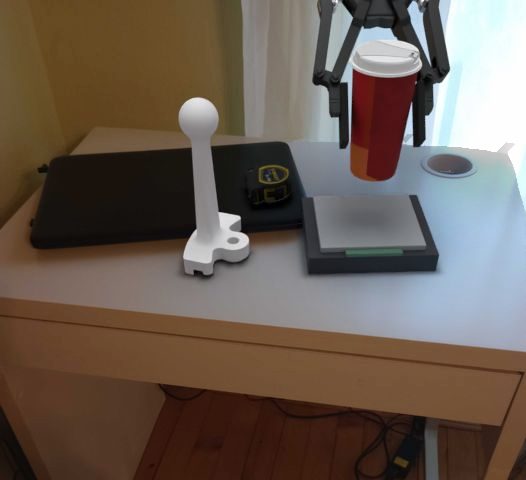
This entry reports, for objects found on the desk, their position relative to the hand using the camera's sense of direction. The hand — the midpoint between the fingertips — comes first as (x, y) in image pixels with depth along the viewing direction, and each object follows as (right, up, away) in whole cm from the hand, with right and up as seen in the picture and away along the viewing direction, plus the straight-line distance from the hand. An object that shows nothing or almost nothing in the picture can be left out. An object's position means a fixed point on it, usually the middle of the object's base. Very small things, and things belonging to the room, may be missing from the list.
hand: (381, 144), depth 71 cm
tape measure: (-13, -1, +21) cm, 25 cm away
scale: (0, -8, +13) cm, 16 cm away
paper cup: (0, -1, +6) cm, 6 cm away
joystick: (-19, -10, +12) cm, 24 cm away
